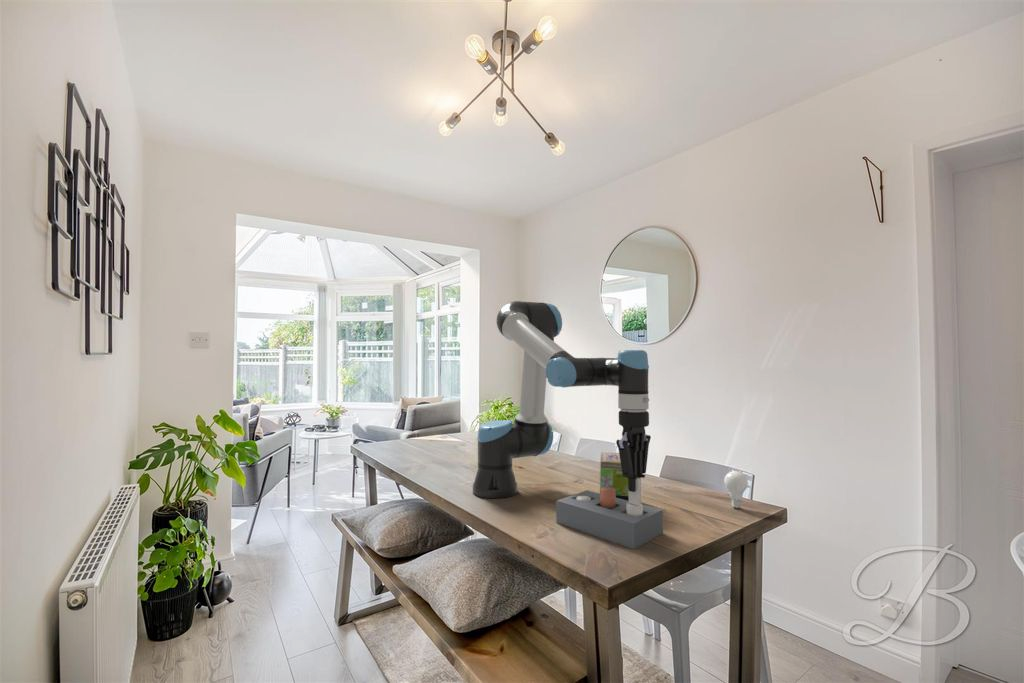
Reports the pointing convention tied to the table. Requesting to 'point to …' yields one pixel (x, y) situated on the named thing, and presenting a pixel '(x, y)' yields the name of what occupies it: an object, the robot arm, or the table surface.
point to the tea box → (613, 475)
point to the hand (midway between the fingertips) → (634, 503)
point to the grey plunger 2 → (634, 509)
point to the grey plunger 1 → (583, 498)
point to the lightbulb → (736, 487)
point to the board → (609, 520)
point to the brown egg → (607, 497)
